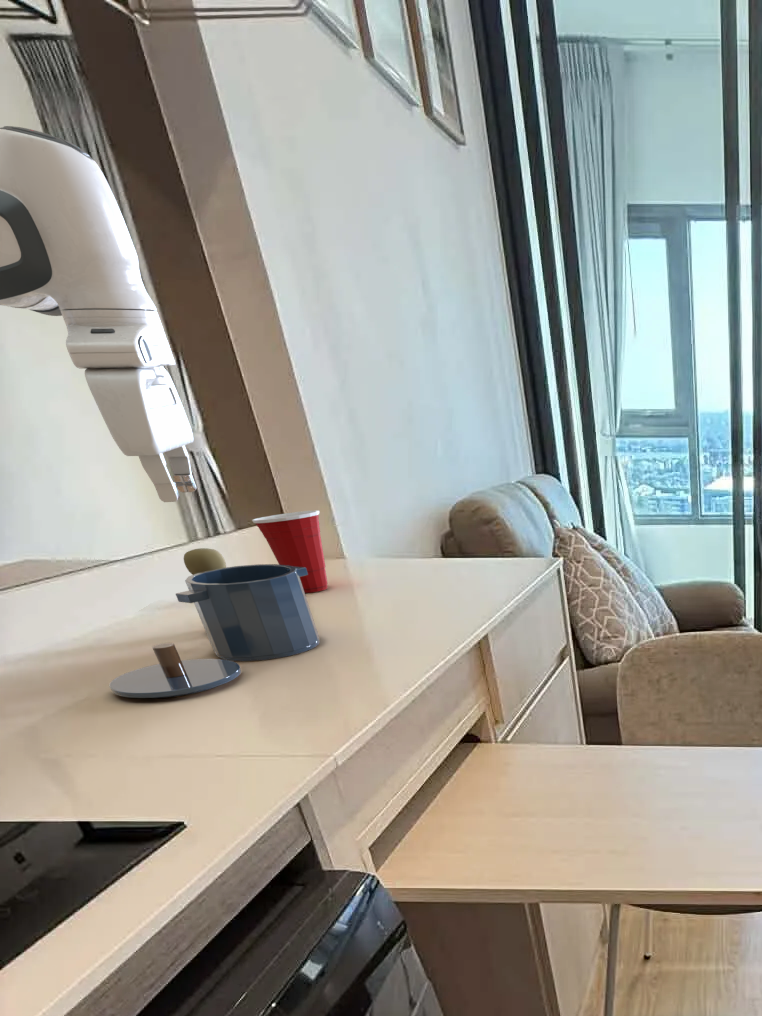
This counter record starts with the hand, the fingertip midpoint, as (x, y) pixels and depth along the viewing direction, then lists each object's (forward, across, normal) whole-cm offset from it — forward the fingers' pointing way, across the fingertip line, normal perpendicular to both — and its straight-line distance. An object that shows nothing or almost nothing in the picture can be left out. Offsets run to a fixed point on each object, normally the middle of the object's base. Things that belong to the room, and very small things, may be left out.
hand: (180, 496), depth 100 cm
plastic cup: (+20, -52, +3) cm, 56 cm away
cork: (+20, -25, -6) cm, 32 cm away
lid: (+19, +4, -7) cm, 21 cm away
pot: (+20, -12, +1) cm, 23 cm away
